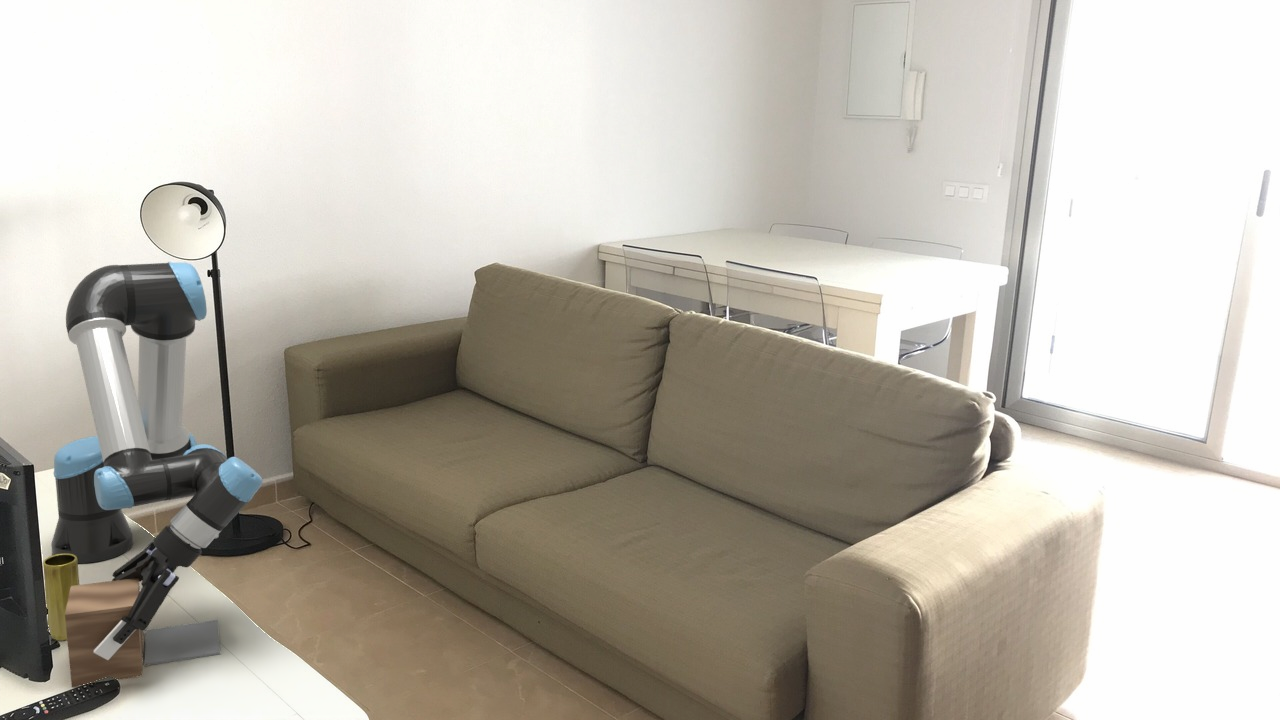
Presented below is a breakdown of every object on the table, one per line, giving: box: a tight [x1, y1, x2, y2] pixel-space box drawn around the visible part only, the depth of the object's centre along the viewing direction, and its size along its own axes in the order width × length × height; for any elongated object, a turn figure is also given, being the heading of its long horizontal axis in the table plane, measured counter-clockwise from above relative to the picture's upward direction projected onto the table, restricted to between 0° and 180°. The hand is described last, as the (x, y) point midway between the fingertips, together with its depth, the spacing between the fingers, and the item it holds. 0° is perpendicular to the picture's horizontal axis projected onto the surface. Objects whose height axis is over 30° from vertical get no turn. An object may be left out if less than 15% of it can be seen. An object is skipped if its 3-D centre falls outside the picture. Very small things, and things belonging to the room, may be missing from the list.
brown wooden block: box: [65, 578, 145, 688], centre depth 172 cm, size 10×10×13 cm
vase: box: [42, 553, 81, 642], centre depth 181 cm, size 6×6×14 cm
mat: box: [143, 619, 221, 667], centre depth 182 cm, size 12×12×1 cm
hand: (94, 636), depth 171 cm, fingers open, 13 cm apart
